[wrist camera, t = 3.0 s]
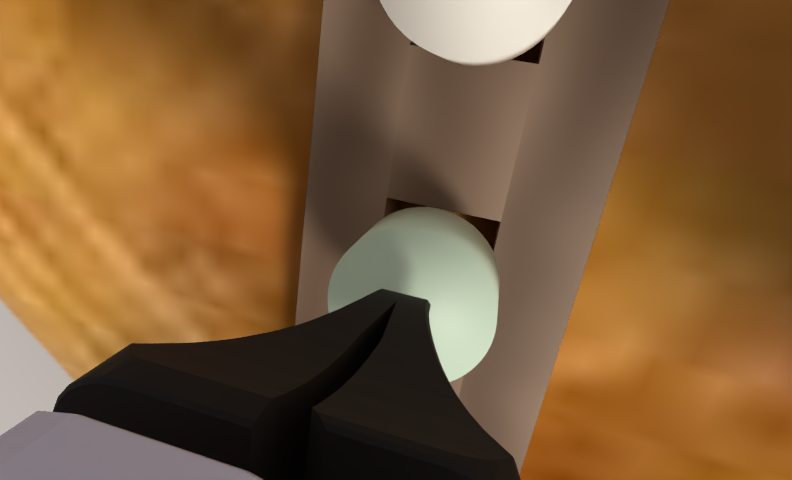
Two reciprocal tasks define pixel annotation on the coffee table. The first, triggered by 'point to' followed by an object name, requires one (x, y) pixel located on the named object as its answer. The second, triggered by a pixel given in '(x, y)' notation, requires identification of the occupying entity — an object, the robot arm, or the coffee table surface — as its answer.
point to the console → (478, 169)
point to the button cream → (475, 26)
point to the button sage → (429, 279)
